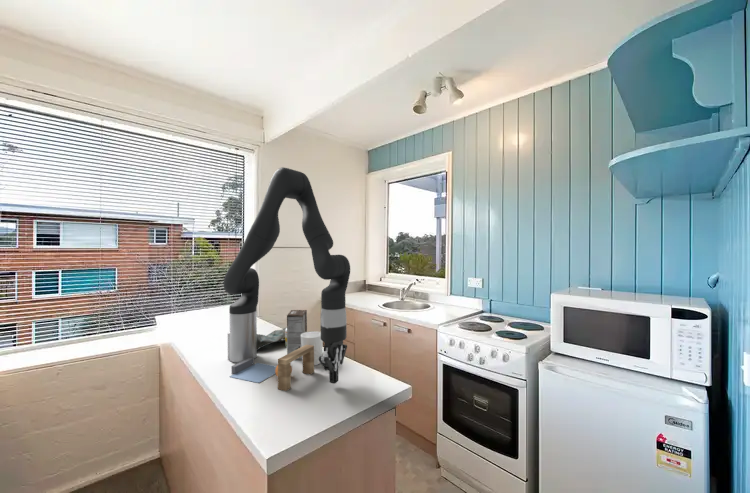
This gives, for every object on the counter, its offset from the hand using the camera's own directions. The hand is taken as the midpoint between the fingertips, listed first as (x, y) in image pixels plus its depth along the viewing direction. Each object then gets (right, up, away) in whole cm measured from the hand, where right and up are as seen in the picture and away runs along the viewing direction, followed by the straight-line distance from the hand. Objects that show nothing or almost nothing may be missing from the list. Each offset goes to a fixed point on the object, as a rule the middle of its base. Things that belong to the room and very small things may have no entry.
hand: (333, 382), depth 88 cm
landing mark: (-26, -2, +11) cm, 29 cm away
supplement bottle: (-22, -2, +37) cm, 44 cm away
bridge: (-12, -2, +5) cm, 13 cm away
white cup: (-10, -2, +19) cm, 22 cm away
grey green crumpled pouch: (-30, -2, +41) cm, 51 cm away
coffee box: (-18, -2, +28) cm, 33 cm away
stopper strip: (-32, -2, +13) cm, 35 cm away
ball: (-17, +1, +6) cm, 18 cm away
